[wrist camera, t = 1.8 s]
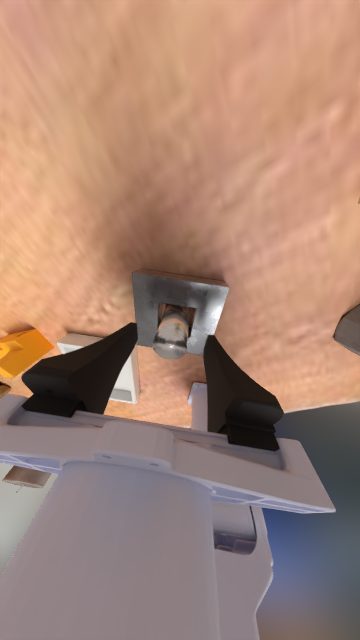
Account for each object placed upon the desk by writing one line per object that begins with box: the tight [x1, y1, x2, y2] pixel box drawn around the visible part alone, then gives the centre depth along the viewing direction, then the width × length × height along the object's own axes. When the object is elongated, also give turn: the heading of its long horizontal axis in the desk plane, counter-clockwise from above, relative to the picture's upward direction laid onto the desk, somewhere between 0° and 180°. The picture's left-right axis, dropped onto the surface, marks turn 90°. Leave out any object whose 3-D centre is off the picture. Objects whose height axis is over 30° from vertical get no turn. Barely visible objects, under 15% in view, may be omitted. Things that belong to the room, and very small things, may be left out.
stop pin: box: [152, 304, 189, 359], centre depth 15 cm, size 3×3×7 cm
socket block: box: [132, 269, 229, 355], centre depth 17 cm, size 10×10×2 cm
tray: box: [56, 333, 140, 404], centre depth 25 cm, size 12×16×2 cm
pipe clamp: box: [0, 329, 54, 378], centre depth 22 cm, size 12×4×6 cm, turn 104°
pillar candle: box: [2, 465, 51, 492], centre depth 39 cm, size 10×10×15 cm
